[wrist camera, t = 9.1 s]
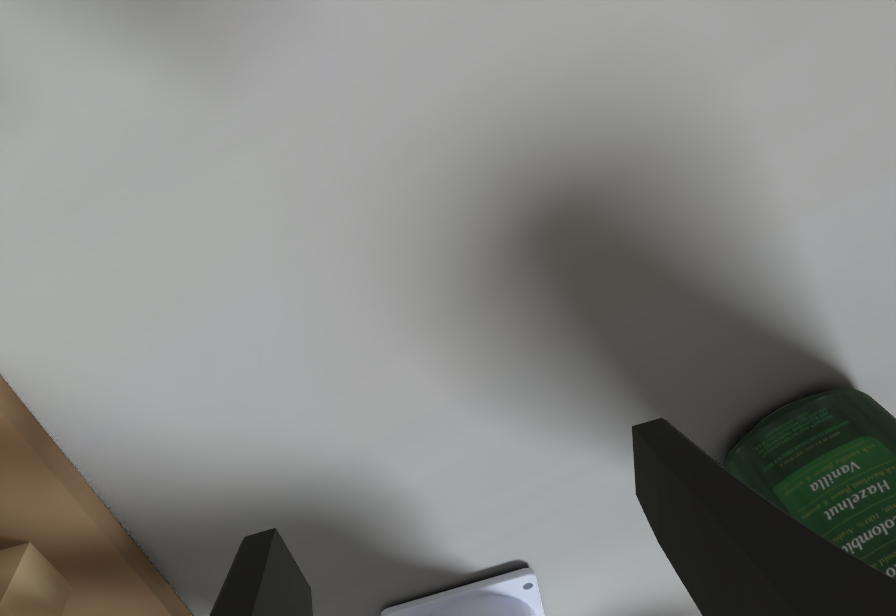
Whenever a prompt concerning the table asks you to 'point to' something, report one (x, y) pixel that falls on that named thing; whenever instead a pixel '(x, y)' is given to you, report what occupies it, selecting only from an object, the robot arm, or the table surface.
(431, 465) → the table surface
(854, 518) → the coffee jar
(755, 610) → the robot arm
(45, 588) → the display stand
